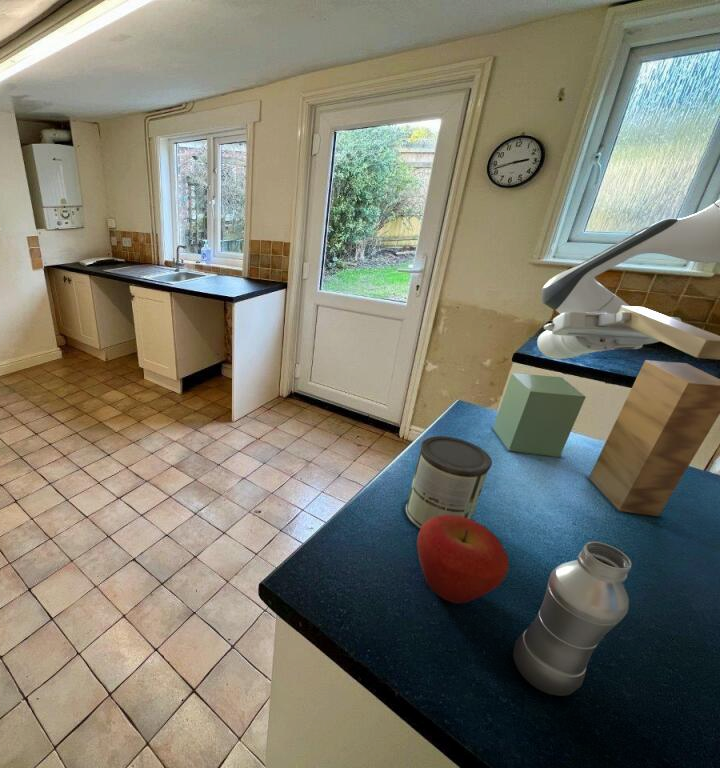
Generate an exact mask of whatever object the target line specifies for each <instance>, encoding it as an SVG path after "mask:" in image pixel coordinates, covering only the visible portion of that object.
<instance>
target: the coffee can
mask: <svg viewBox="0 0 720 768" xmlns="http://www.w3.org/2000/svg"><path fill="white" fill-rule="evenodd" d="M419 450H420V451H419V455H418V459H417V463H416V466H415V471H414V475H413V478H412V482H411V487H410V491H409V495H408V499H407V503H406V505H405V514H406V516H407V517H408V519H409V521H411V523H412V524H414V526H416V527H417V528H418V529H419V530H420V529H421V526H422V525H423V524H424V523H425V522H426V521H428V520H429V519H431V518H434V517H438V516H441V515H456V516H462V517H464V518H467V519H470V520H473V515H474V513H475V510H476V507H477V505H478V501H479V498H480V496H481V492H482V489H483V487H484V484H485V482H486V478H487V476H488V473H489V470H490V469H491V467H492V464H493V460H492V458H491V456H490V455H489V454H488V453H487V452H486V451H485V450H484V449H482V448H481V447H480V446H478V445H476V444H474V443H472V442H470V441H467V440H464V439H461V438H456V437H452V436H445V435H436V436H435V435H434V436H431V437H430V436H429V437H427V438H425V439H424V440H422V441H421V444H420V449H419Z"/></svg>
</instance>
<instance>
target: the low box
mask: <svg viewBox="0 0 720 768" xmlns="http://www.w3.org/2000/svg"><path fill="white" fill-rule="evenodd" d="M503 394H504V395H503V397H502V400H501V403H500V406H499V409H498V412H497V415H496V418H495V421H494V424H493V427H492V429H493V430H494V432H495V434H496V435H497V436H498V438H499V439H500V440H501V442H502V443H503V446H504V447H506V449H507V450H508V451H509V452H515V453H516V452H517V453H523V454H532V455H539V456H541V455H542V456H549V457H556V458H560V457H561V455H562V453H563V450H564V448H565V446H566V444H567V442H568V439H569V437H570V434H571V432H572V430H573V427H574V425H575V423H576V421H577V418H578V416H579V414H580V411H581V409H582V407H583V404H584V402H585V400H586V398H587V396H586V395H585V394H584V393H582V392H581V391H580V390H578V389H577V388H576V387H575V386H573V385H572V384H571V383H569V382H568V381H567V380H566V379H565V378H564V377H562V376H552V375H540V374H529V373H528V374H527V373H516V372H515V373H514V372H512V373H510V377H509V379H508V382H507V386H506V389H505V392H504V393H503Z"/></svg>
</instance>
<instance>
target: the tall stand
mask: <svg viewBox="0 0 720 768" xmlns="http://www.w3.org/2000/svg"><path fill="white" fill-rule="evenodd" d="M719 417H720V378H718V377H716V376H714V375H712V374H710V373H708V372H705V371H704V370H701V369H700V368H697V367H695V366H693V365H691V364H689V363H686V362H677V361H675V362H674V361H664V360H663V361H661V360H649V359H645V360H644V362H643V364H642V366H641V368H640V370H639V372H638V374H637V376H636V378H635V380H634V383H633V385H632V386H631V389H630V391H629V393H628V395H627V397H626V399H625V401H624V403H623V406H622V408H621V410H620V411H619V414H618V416H617V418H616V420H615V422H614V424H613V426H612V428H611V430H610V432H609V434H608V437H607V439H606V440H605V443H604V444H603V447H602V449H601V451H600V452H599V454H598V457H597V459H596V461H595V463H594V466H593V468H592V470H591V472H590V473H589V475H588V479H589V480H590V481H591V482H592V483H593V485H595V486H596V488H597V489H598V490H599V491H600V492H601V493H602V494H603V495H604V496H605V498H606V499H607V500H608V501H609V502H610V503H611V504H612V505H613V506H614V507H615V508H616V509H617V510H618V512H625V513H631V514H637V515H644V516H653V517H659V516H660V514H661V512H662V511H663V510H664V508H665V506H666V504H667V503H668V501H669V499H670V498H671V496H672V494H673V492H674V491H675V489H676V488H677V486H678V485H679V483H680V481H681V479H682V478H683V476H684V474H685V473H686V471H687V469H688V468H689V466H690V464H691V463H692V461H693V459H694V458H695V456H696V454H697V453H698V451H699V449H700V448H701V446H702V444H703V443H704V441H705V439H706V438H707V436H708V434H709V433H710V431H711V430H712V427H713V426H714V424H715V423H716V422H717V419H718V418H719Z"/></svg>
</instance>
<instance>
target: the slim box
mask: <svg viewBox="0 0 720 768" xmlns="http://www.w3.org/2000/svg"><path fill="white" fill-rule="evenodd" d="M619 312H631V320H630V321H628V322H625V323H622V324H624V325H626V326H629V327H631V328H633V329H635V330H637V331H640V332H642V333H644V334H646V335H648V336H650V337H653V338H655V339H657V340H659V341H660V342H662V343H663V344H666V345H668V346H670V347H672V348H675V349H677V350H679V351H681V352H683V353H685V354H687V355H690V356H692V357H693V358H697V359H704V360H705V359H707V360H720V335H718V334H716V333H712V332H710V331H707V330H705V329H702V328H700V327H696V326H694V325H692V324H689V323H687V322H684V321H682V320H681V321H678V320H676V319H673V318H670V317H671V316H668V315H665V314H662V313H659V312H658V311H654V310H652V309H649V308H646V307H644V306H633V305H632V306H631V305H629V306H621V308H620V310H619Z"/></svg>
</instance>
